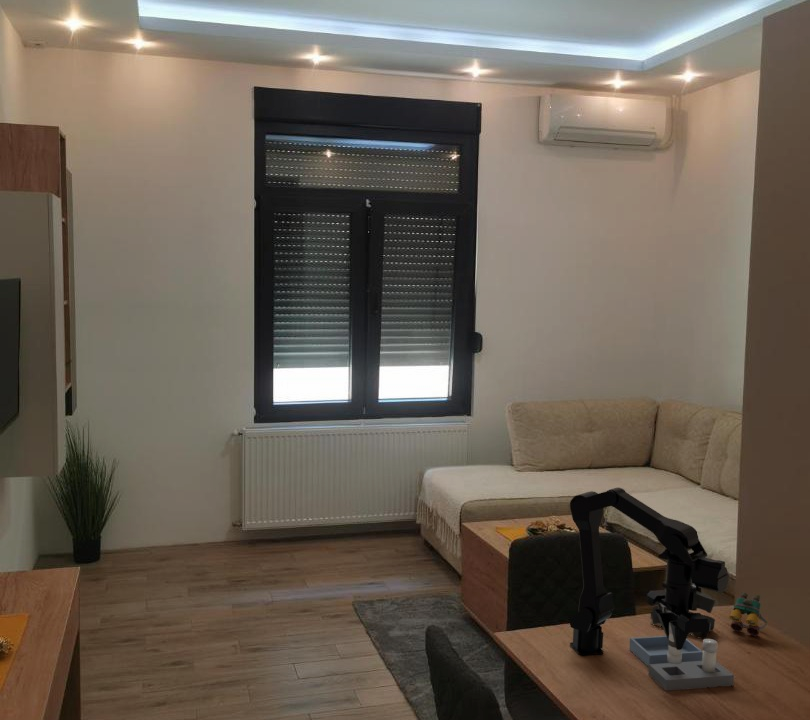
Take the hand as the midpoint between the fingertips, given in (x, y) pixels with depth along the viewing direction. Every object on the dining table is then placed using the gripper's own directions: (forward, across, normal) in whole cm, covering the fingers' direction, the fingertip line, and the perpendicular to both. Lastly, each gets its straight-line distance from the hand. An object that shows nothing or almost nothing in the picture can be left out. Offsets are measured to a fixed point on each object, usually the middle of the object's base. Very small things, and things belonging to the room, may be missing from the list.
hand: (675, 646), depth 196 cm
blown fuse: (+4, 0, 0) cm, 4 cm away
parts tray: (+8, +13, -5) cm, 16 cm away
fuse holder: (+8, 0, -4) cm, 10 cm away
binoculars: (+9, +23, -34) cm, 42 cm away
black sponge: (+9, +29, -19) cm, 36 cm away
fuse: (+8, 0, -9) cm, 12 cm away
